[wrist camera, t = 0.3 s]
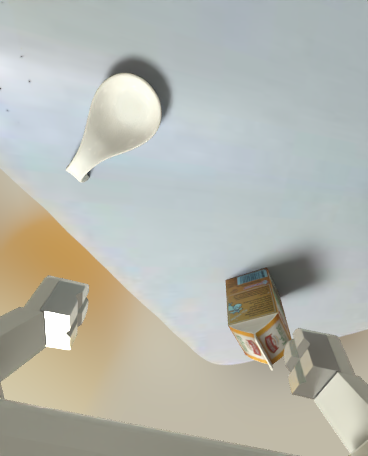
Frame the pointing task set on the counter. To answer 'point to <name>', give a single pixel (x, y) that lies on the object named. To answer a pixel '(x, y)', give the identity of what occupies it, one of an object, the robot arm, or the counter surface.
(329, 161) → the counter surface
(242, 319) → the milk carton
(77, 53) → the counter surface
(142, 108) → the spoon rest
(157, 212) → the counter surface
